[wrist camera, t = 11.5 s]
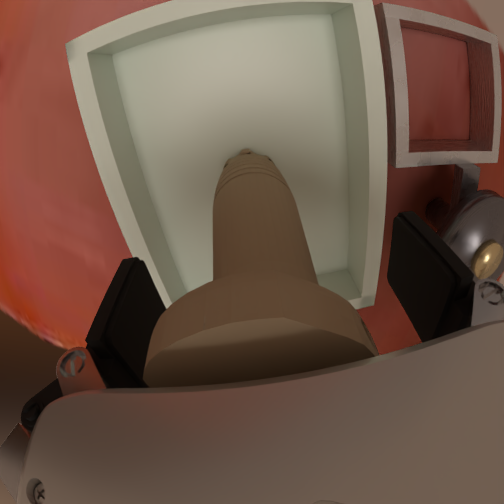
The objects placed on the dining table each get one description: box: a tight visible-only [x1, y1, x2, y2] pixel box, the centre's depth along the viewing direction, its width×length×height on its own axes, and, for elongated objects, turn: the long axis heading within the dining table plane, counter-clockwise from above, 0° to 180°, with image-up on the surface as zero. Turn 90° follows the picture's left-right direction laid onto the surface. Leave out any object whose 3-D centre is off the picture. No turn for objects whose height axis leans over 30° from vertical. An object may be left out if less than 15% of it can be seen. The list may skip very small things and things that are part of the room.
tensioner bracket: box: [373, 3, 504, 283], centre depth 15 cm, size 21×11×8 cm, turn 10°
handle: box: [143, 149, 380, 388], centre depth 12 cm, size 5×6×15 cm
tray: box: [65, 0, 387, 309], centre depth 17 cm, size 22×16×4 cm
